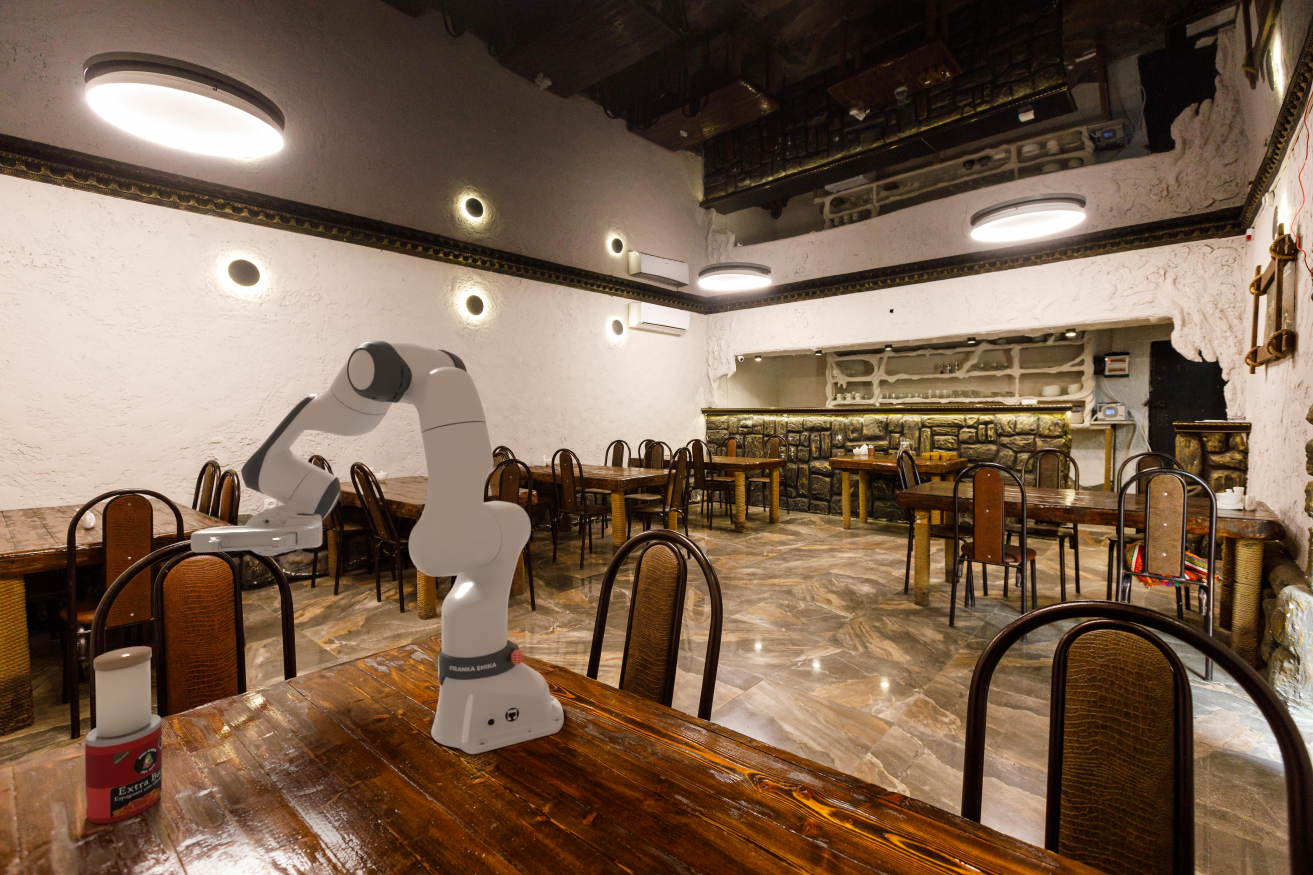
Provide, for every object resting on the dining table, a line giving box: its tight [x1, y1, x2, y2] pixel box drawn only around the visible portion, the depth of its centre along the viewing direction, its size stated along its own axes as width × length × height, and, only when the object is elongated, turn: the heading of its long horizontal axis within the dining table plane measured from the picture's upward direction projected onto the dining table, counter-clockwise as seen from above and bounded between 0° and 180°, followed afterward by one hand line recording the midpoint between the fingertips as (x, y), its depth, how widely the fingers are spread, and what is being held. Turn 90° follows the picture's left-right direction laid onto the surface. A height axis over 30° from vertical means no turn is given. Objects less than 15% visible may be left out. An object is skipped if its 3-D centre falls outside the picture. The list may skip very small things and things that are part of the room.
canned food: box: [84, 713, 163, 824], centre depth 78 cm, size 8×8×11 cm
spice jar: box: [93, 645, 153, 737], centre depth 78 cm, size 6×6×10 cm
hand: (245, 545), depth 99 cm, fingers open, 8 cm apart
